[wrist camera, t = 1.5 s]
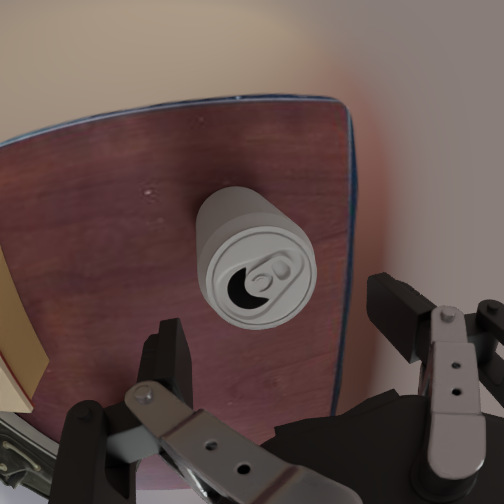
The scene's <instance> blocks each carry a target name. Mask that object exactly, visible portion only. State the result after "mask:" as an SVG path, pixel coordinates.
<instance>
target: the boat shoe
mask: <svg viewBox="0 0 504 504" xmlns="http://www.w3.org/2000/svg"><path fill="white" fill-rule="evenodd" d="M58 448H59V444H58V443H56V442H54V441H53V440H51V439H49V438H48V437H46V436H45V435H43V434H42V433H40V432H39V431H38V430H36V429H35V428H33V427H32V426H31V425H29V424H28V423H27V422H25V421H24V420H23V419H21V418H20V417H19V416H17V415H16V414H15V413H13V412H7V411H0V480H1V482H2V483H3V484H4V485H6V486H12V487H13V489H16V487H17V486H18V485H22V486H24V487H26V488H28V489H30V490H32V491H33V492H35V493H37V494H39V495H40V496H42V497H44V498H46V499H48V500H49V495H50V489H51V483H52V478H53V472H54V467H55V462H56V457H57V453H58Z"/></svg>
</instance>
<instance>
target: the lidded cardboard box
mask: <svg viewBox="0 0 504 504" xmlns="http://www.w3.org/2000/svg"><path fill="white" fill-rule="evenodd" d="M49 361H50V360H49V358H48V357H47V355H46V353H45V351H44V349H43V347H42V345H41V343H40V341H39V339H38V337H37V335H36V333H35V331H34V329H33V327H32V325H31V323H30V321H29V318H28V316H27V314H26V312H25V310H24V307H23V305H22V303H21V300H20V298H19V295H18V293H17V290H16V288H15V285H14V283H13V280H12V278H11V275H10V272H9V269H8V267H7V264H6V261H5V258H4V255H3V252H2V249H1V246H0V411H7V412H24V413H31V412H32V410H33V408H34V407H35V405H34V403H33V402H32V401H31V398H32V396H33V394H34V392H35V389H36V387H37V385H38V383H39V381H40V379H41V377H42V375H43V373H44V371H45V369H46V367H47V365H48V363H49Z"/></svg>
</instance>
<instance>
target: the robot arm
mask: <svg viewBox="0 0 504 504" xmlns="http://www.w3.org/2000/svg"><path fill="white" fill-rule="evenodd" d="M367 314H368V317H369V319H370V321H371V322H372V323H373V324H374V325H375V326H376V327H377V328H378V329H379V330H380V332H381V333H382V334H383V335H384V336H385V337H386V338H387V339H388V340H389V341H390V342H391V344H392V345H393V346H394V347H395V348H396V349H397V350H398V351H399V353H400V354H401V355H402V356H403V357H404V358H405V359H406V360H407V361H408V363H409V364H411V363H413V362H415V361H418V360H421V361H422V363H421V367H420V377H419V387H418V395H402V396H399V395H398V393H397V392H396V391H395V389H392V390H389V391H386V392H384V393H382V394H379V395H376V396H374V397H371V398H368V399H366V400H365V401H363V402H362V403H360V404H359V405H357V406H355V407H354V408H352V409H350V410H349V411H347V412H346V413H344V414H342V415H338V416H330V417H320V418H309V419H303V420H300V421H296V422H292V423H289V424H285V425H281V426H276V427H274V429H275V435H276V436H275V437H273V438H271V439H269V440H267V441H266V442H264V443H263V444H261V445H260V446H259V445H257V444H255V443H254V442H252V441H251V440H249V439H247V438H246V437H244V436H243V435H241V434H240V433H238V432H237V431H235V430H234V429H232V428H231V427H229V426H228V425H226V424H225V423H223V422H222V421H220V420H219V419H218V418H216V417H215V416H213V415H212V414H210V413H209V412H208V411H206V410H204V409H199V410H198V411H194V410H193V391H192V362H191V355H190V351H189V347H188V344H187V341H186V338H185V335H184V331H183V328H182V325H181V322H180V319H179V318H174V319H168V320H162V321H160V327H159V333H158V334H153V335H150V336H149V337H148V339H147V340H146V341H145V343H144V346H143V351H142V352H143V353H142V356H141V362H140V367H139V373H138V378H137V384H135V385H133V386H132V387H131V388H129V389H128V391H127V392H126V394H125V397H124V401H122V402H120V403H118V404H115V405H112V406H109V407H106V408H102V406H101V405H100V404H99V403H98V402H96V401H93V400H85V401H81V402H79V403H77V404H75V405H74V406H73V407H72V408H71V409H70V410H69V411H68V413H67V416H66V420H65V423H64V427H63V431H62V435H61V440H60V444H59V448H58V453H57V457H56V462H55V467H54V472H53V478H52V483H51V489H50V495H49V502H48V504H136V461H137V460H140V459H143V458H146V457H149V456H152V455H154V454H157V455H158V456H159V457H160V458H161V459H162V460H163V461H164V462H165V463H166V464H167V465H168V466H169V467H170V468H171V469H173V470H174V471H175V472H176V473H177V474H178V475H179V476H180V477H181V478H182V479H183V480H184V481H185V482H186V483H187V484H188V485H189V486H190V487H191V488H192V489H193V490H194V491H195V492H196V493H197V494H198V495H199V496H200V497H201V498H202V499H203V500H204V501H205V502H206V503H208V504H504V418H502V417H498V416H494V415H490V414H487V413H483V412H481V406H480V405H481V404H480V389H479V381H480V382H481V383H482V384H483V385H484V386H485V387H486V389H487V390H488V391H489V392H490V393H491V394H492V395H493V396H494V398H495V399H496V400H497V401H498V402H499V403H500V404H501V406H502V407H503V408H504V360H503V359H502V358H501V357H500V356H499V355H498V354H497V353H496V352H495V351H496V348H497V345H498V342H500V343H501V344H502V345H503V346H504V304H502V303H501V302H499V301H495V300H484V301H481V302H480V303H479V305H478V308H477V313H472V314H465V315H464V314H463V313H462V312H461V311H460V310H459V309H457V308H455V307H452V306H439V307H437V306H436V305H434V304H433V303H432V302H431V301H429V300H428V299H427V298H425V297H424V296H423V295H422V294H421V295H420V293H419V292H418V291H416V290H414V288H412V287H411V286H410V285H408V284H407V283H404V282H401V281H398V280H395V279H394V278H393V277H391V276H390V275H389V274H387V273H385V272H383V273H379V274H375V275H372V276H369V277H368V280H367Z"/></svg>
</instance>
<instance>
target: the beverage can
mask: <svg viewBox="0 0 504 504" xmlns="http://www.w3.org/2000/svg"><path fill="white" fill-rule="evenodd" d="M196 246H197V272H198V281H199V286H200V289H201V292H202V294H203V296H204V298H205V299H206V301H207V302H208V303H209V305H210V306H211V307H212V308H213V309H214V310H215V311H216V312H217V313H218V314H219V315H220V316H221V317H222V318H223V319H224V320H226V321H227V322H229V323H231V324H233V325H235V326H238V327H241V328H245V329H253V330H258V329H267V328H272V327H275V326H278V325H280V324H283V323H285V322H286V321H288V320H290V319H291V318H293V317H294V316H295V315H296V314H298V313H299V312H300V311H301V310H302V309H303V307H304V306H305V305H306V304H307V302H308V301H309V299H310V297H311V295H312V293H313V290H314V287H315V284H316V276H317V269H316V263H315V256H314V251H313V248H312V245H311V243H310V241H309V239H308V237H307V236H306V234H305V233H304V232H303V230H302V229H301V228H300V227H299V226H298V225H296V224H295V223H294V222H293V221H292V220H290V219H289V218H288V217H287V216H285V215H284V214H283V213H282V212H281V211H279V210H278V209H277V208H276V207H274V206H273V205H272V204H271V203H270V202H268V201H267V200H266V199H265V198H263V197H262V196H261V195H260V194H258V193H257V192H255V191H253V190H251V189H248V188H245V187H237V186H234V187H227V188H223V189H221V190H218V191H216V192H215V193H213V194H212V195H210V196H209V197H208V198H207V199H206V200H205V201H204V203H203V204H202V206H201V207H200V209H199V212H198V215H197V219H196Z"/></svg>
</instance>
